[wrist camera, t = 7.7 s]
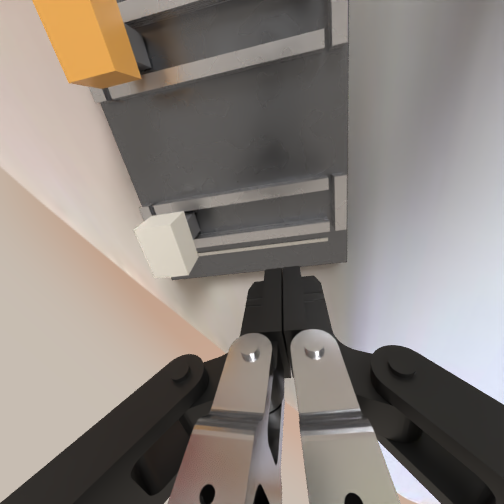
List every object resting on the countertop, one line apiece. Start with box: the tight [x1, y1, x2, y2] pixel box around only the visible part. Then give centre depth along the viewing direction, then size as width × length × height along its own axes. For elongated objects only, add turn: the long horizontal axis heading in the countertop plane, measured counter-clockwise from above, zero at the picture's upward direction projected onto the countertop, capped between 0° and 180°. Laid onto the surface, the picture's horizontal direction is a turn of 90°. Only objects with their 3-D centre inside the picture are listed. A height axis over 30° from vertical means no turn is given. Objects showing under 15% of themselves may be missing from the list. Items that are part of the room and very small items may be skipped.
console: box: [89, 0, 349, 280], centre depth 17 cm, size 16×22×2 cm
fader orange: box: [32, 0, 151, 89], centre depth 12 cm, size 2×4×5 cm, turn 10°
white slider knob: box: [134, 211, 200, 279], centre depth 17 cm, size 2×4×5 cm, turn 10°
